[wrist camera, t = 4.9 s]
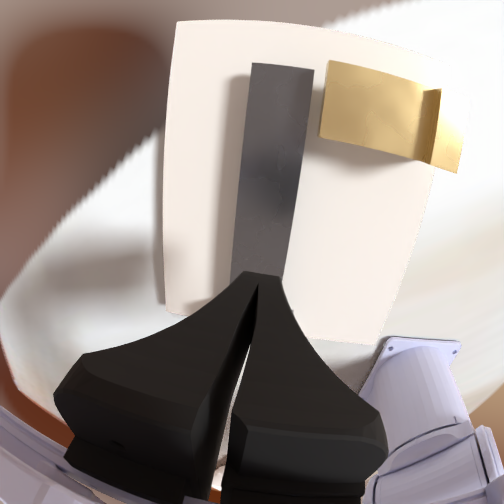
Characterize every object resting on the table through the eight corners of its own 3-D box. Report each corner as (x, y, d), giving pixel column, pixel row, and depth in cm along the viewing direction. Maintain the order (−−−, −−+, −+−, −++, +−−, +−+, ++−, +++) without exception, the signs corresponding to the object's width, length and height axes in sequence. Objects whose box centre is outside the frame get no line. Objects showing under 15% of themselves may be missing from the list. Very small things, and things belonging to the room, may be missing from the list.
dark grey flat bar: (271, 331, 20) (270, 344, 19) (228, 323, 20) (224, 336, 19) (313, 73, 13) (314, 68, 12) (255, 66, 13) (251, 61, 12)
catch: (423, 159, 14) (456, 173, 11) (314, 133, 15) (320, 138, 11) (433, 100, 13) (468, 99, 9) (322, 70, 13) (331, 55, 10)
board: (371, 332, 22) (380, 368, 18) (173, 300, 23) (153, 331, 20) (438, 68, 13) (469, 60, 9) (185, 27, 14) (159, 10, 11)
